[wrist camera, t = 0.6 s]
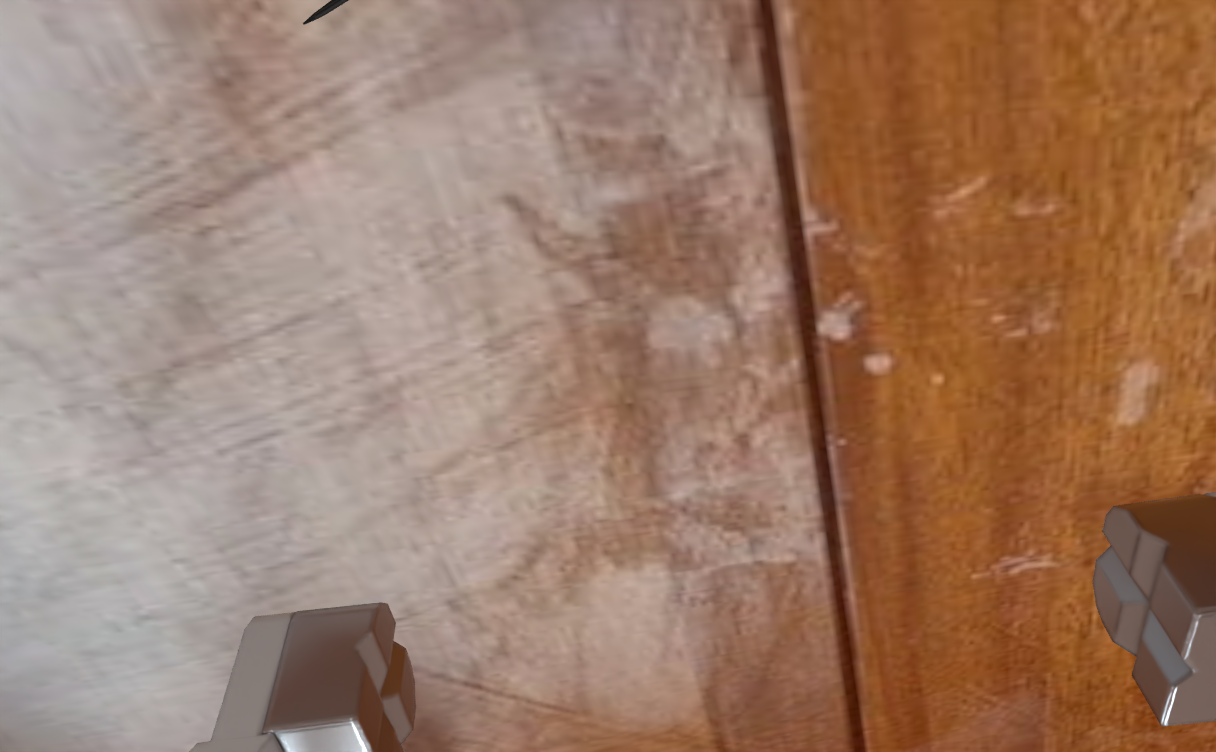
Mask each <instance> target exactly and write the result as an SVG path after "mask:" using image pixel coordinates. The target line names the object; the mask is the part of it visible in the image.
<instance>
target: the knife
mask: <svg viewBox="0 0 1216 752" xmlns="http://www.w3.org/2000/svg"><path fill="white" fill-rule="evenodd" d="M347 1H348V0H331V1H330V2H329V3H327V4H326V5H325V6H323V7H322V8H321V9H319V10H318V11H317V12H315V13H314V14H313V15H312V16H310V17H309V18H308V19H307V20H306V21H305V22H304V23H303V24H307V23H309V22H311V21H314V20H316V19H318V18H320V17H322V16H324V15H326V14H328V13H329V12H331V11H332V10H334V9H336V8H337V7H339V6H340V5H342V4H343V3H345V2H347Z"/></svg>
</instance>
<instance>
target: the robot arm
mask: <svg viewBox="0 0 1216 752" xmlns="http://www.w3.org/2000/svg"><path fill="white" fill-rule="evenodd" d="M1102 532H1103V533H1104V535H1105V537H1106V538H1107V540H1108V541H1109V543H1110V545H1111V546H1110V547H1109V548H1108V549H1107V550H1106V551H1105V552H1104V553H1103V554H1102V555H1100V556H1099V557H1098V558H1097V559H1096V563H1095V570H1094V576H1093V587H1094V595H1095V602H1096V606H1097V609H1098V612H1099V615H1100V617H1101V620H1102V623H1103V625H1104V627H1105V628H1106V630H1107V632H1108V634H1109V636H1110V638H1111V639H1112V641H1113V642H1114V643H1116V644H1117V645H1119V646H1120V647H1122V648H1124V649H1125V650H1127V651H1128V652H1130V653H1132V654H1133V655H1135V656H1136V660H1135V664H1134V668H1133V672H1132V676H1133V678H1134V680H1135V682H1136V683H1137V685H1138V687H1139V689H1140V690H1141V692H1142V694H1143V695H1144V697H1145V699H1146V701H1147V702H1148V704H1149V706H1150V708H1151V709H1152V711H1153V713H1154V714H1155V716H1156V718H1157V720H1158V721H1159V723H1160V725H1161V726H1170V725H1180V724H1191V723H1201V722H1211V721H1216V492H1211V493H1206V494H1204V495H1203V494H1194V495H1187V496H1180V497H1173V498H1166V499H1159V500H1152V501H1145V502H1138V503H1131V504H1124V505H1117V506H1113V507H1112V508H1111V509H1110V511H1109V512H1108V513H1107V514H1106V517H1105V522H1104V526H1103V530H1102ZM395 625H396V622H395V620H394V618H393V615H392V613H391V611H390V608H389V606H388V604H386V603H372V604H362V605H353V606H343V607H334V608H324V609H315V610H305V611H297V612H292V613H283V614H274V615H265V616H255V617H254V618H253V619H252V620H251V621H250V623H249V624H248V625H247V627H246V628H245V630H244V633H243V637H242V640H241V643H240V646H239V650H238V653H237V656H236V659H235V663H234V666H233V669H232V672H231V676H230V679H229V682H228V686H227V689H226V692H225V695H224V699H223V702H222V705H221V708H220V712H219V715H218V718H217V721H216V725H215V728H214V731H213V735H212V738H211V741H208V742H202V743H197V744H196V745H195V746H194V747H193V748H192V749H191V750H190V751H189V752H404V751H403V749H402V746H401V744H402V743H403V742H404V741H405V739H406V738H407V737H408V736H409V734H410V733H411V732H412V731H413V728H414V719H415V709H416V702H415V681H414V676H413V671H412V666H411V662H410V659H409V656H408V654H407V651H406V648H404V647H402V646H401V645H399V644H398V643H396V642H394V641H393V639H394V632H395Z"/></svg>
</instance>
